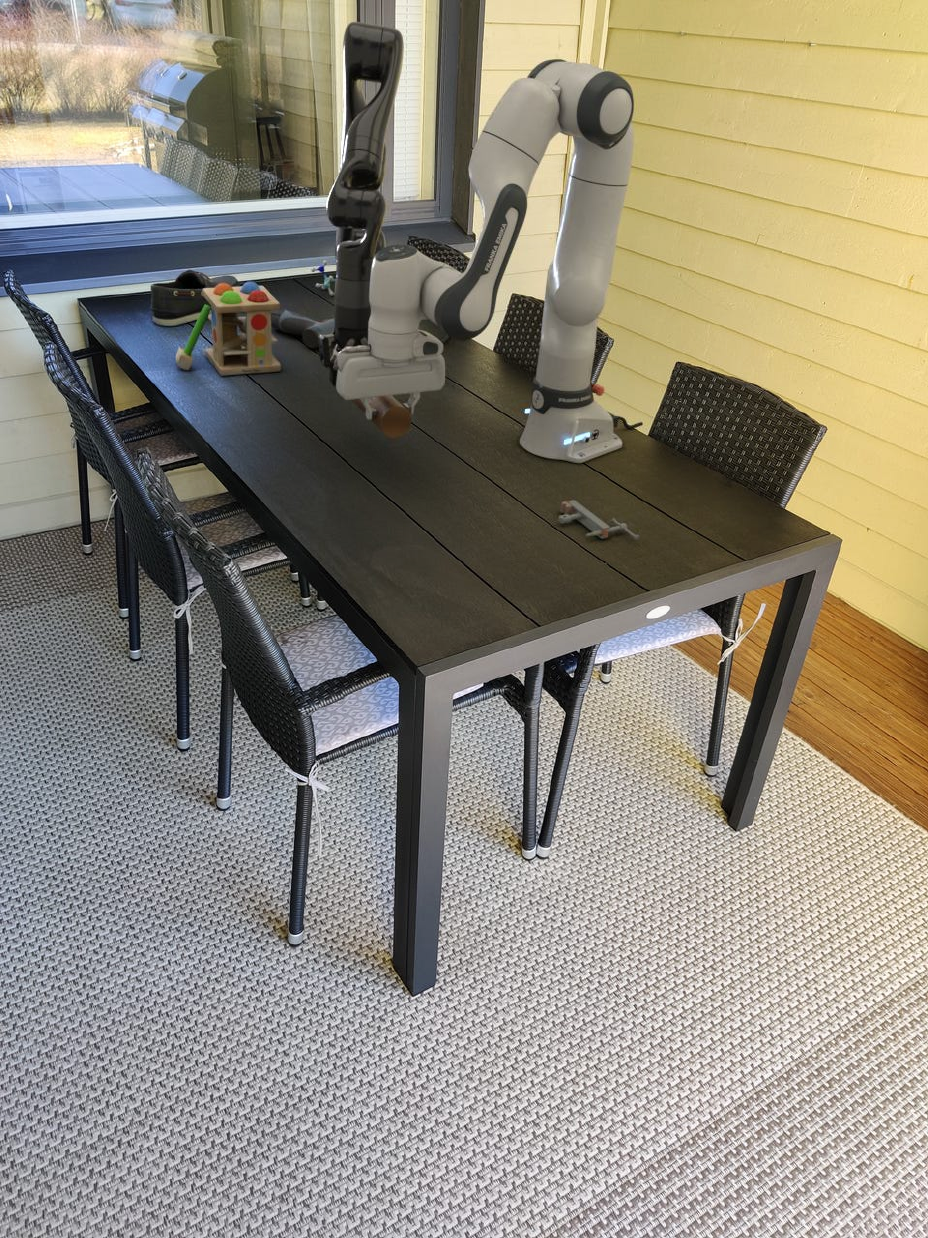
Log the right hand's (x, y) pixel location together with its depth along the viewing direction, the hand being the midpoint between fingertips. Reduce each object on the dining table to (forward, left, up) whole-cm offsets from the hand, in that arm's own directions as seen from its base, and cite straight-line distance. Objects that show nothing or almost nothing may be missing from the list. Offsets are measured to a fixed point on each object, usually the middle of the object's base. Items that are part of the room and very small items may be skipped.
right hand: (389, 416), depth 181 cm
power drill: (-23, -81, -13) cm, 85 cm away
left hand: (-2, -18, -1) cm, 18 cm away
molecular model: (-44, -113, -13) cm, 122 cm away
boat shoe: (-3, -108, -13) cm, 109 cm away
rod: (-1, -9, -3) cm, 10 cm away
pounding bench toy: (+6, -67, -13) cm, 69 cm away
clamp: (-24, +32, -13) cm, 43 cm away
